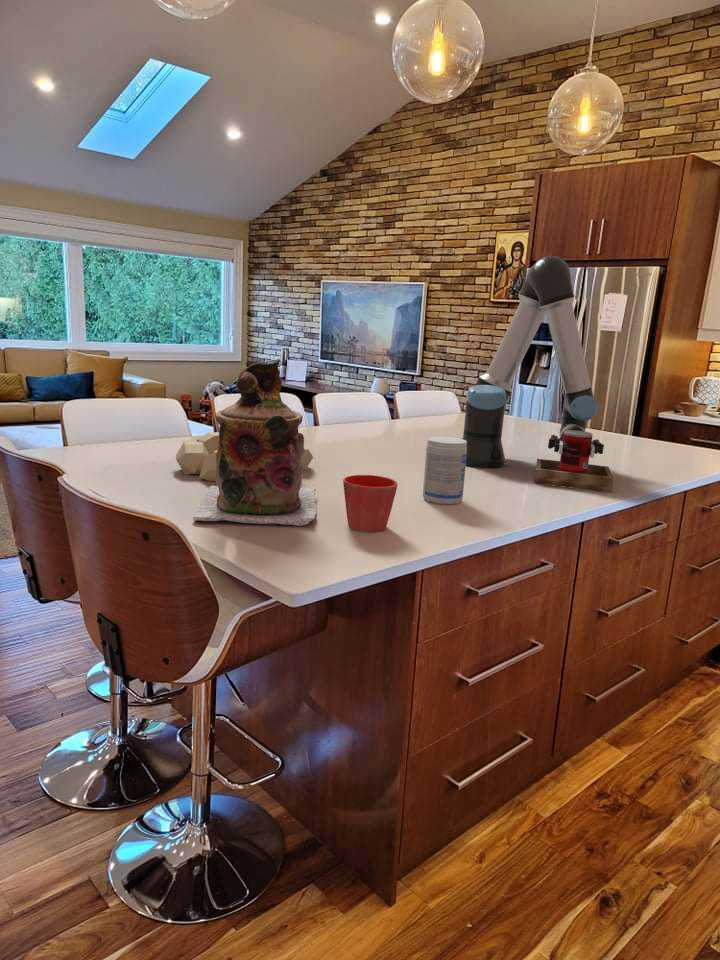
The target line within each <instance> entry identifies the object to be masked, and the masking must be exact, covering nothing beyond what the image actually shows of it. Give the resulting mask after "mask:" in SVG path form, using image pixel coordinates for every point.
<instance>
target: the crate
mask: <svg viewBox="0 0 720 960" xmlns="http://www.w3.org/2000/svg"><path fill="white" fill-rule="evenodd" d="M559 465H560V460H554V459H553V460H551V459H544V458H537V459H536V466H535V471H534V473H535V474H534V475H535V476H534V484H535V483H536V484H537V485H543V484H544V485H545V486H552V485H555V486H554V487H560V486H565V487H564V488H568V487H573V488H572V489H577V488H579V489H580V490H585V489H587V491H594V490H595V491H594V492H602V491H603V492H602V493H611V494H612V491H613V486H614V485H613V484H614V476H613V473H612V472H611V469H610V467H609V466H607V465H598V464H589V463H588V469H587V472H586V473H584V474H581V473H572V472H563V471H561V470H560V467H559ZM536 484H535V485H536Z"/></svg>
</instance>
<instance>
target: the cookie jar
mask: <svg viewBox="0 0 720 960" xmlns="http://www.w3.org/2000/svg"><path fill="white" fill-rule="evenodd" d="M280 362H281V359H280V358H277V359H276V360H275V361H273V362H254V363H252V364H250V365H248V366H247V367H246V368H245V369H243V370H242V371H241V372H240V373H239V376H238V379H237V382H236V383H235V386H236V388H237V389H238V390H239V391H238V392H239V394H240V397H239V399H238V400H237V401H236V402H235V403H234V404H232V405H229V406H227V407H225V408H223V409H221V410H218V411H217V412H216V414H215V421H216V422H217V424H218V426H219V428H218V432H219V444H218V450H217V453H216V482H215V483H216V485H211V486H209V487H208V491H207V493H206V495H205V496H204V497H203V499H202V500H201V502H200V503H199V507H198V509H197V510H198V511H196V512H195V514H194V515H193V517H192V519H193V521H194V522H197V521H202V522H218V521H229V522H235V523H241V524H242V523H243V524H259V525H260V524H261V525H262V524H263V525H288V526H289V525H291V526H296V527H297V526H298V527H303V526H306V525H309V523H310V522H312V521H313V520H315V517H316V516H317V506H316V497H315V494H316V489H317V488H316V487H302V475H303V470H302V464H301V456H302V455H303V453H304V442H305V436H304V434H303V433H301V432H299V427H300V425H301V424H302V423H303V419H304V418H303V415H302V414H301V413H300V412H297V411H295V410H292V409H291V408H290V407H289V406H288V405H287V404H285V403H284V402H283V400H282V397H281V390H282V387H283V386H282V383H283V380H282V379H281V372H280V369H279V365H280Z"/></svg>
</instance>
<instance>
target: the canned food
mask: <svg viewBox="0 0 720 960" xmlns="http://www.w3.org/2000/svg"><path fill="white" fill-rule="evenodd" d="M592 440H593V433H591V432H588V431H586V430H585V431H577V430H566V431H564V435H563V449H562V455H561V454H560V458H559V461H560V465H559V467H560V470H561V471H563V472H572V473H581V474H584V473H586V472H587V469H588V464H589V463H590V449H591V443H592Z"/></svg>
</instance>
